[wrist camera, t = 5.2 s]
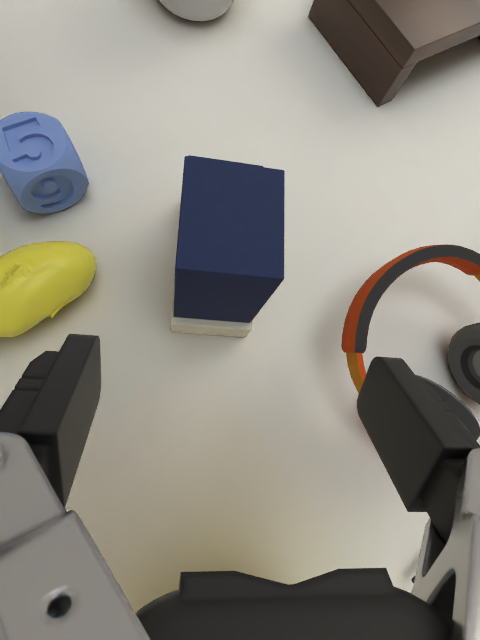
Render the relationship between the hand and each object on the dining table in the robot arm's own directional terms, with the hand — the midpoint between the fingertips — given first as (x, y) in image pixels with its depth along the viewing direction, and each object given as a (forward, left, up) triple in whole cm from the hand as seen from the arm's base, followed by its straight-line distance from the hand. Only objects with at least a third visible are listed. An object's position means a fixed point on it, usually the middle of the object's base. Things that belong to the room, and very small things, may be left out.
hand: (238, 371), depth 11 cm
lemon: (-11, +2, -12) cm, 17 cm away
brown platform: (+4, +36, -12) cm, 38 cm away
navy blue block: (-3, +8, -12) cm, 15 cm away
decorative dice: (-14, +9, -12) cm, 21 cm away
